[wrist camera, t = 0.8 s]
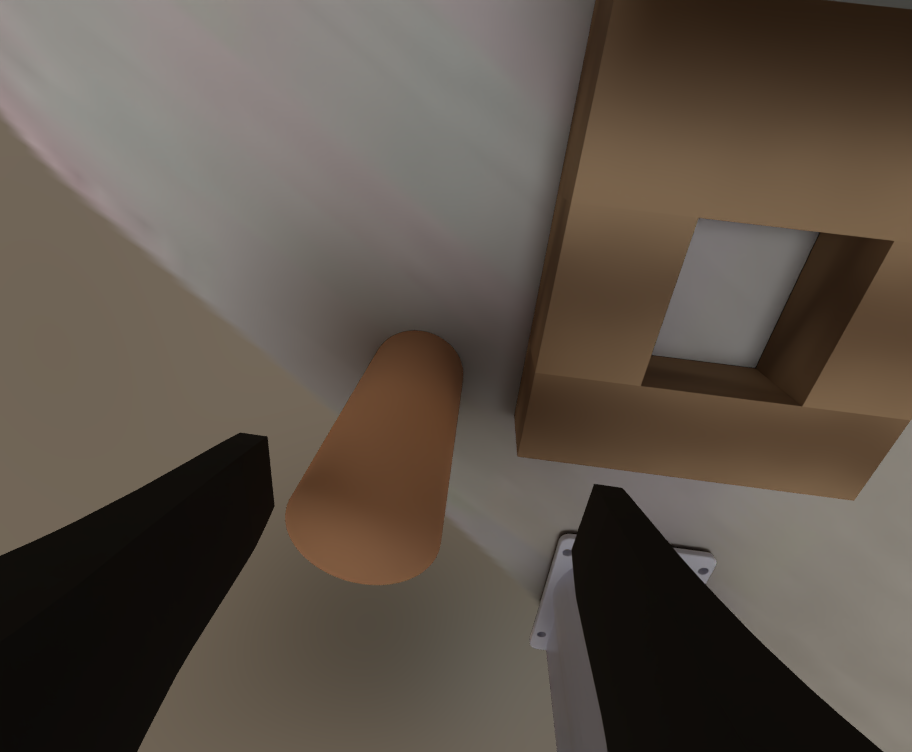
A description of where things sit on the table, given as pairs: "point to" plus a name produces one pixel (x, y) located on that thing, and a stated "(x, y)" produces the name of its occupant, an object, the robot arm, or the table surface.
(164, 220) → the table surface
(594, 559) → the robot arm
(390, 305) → the table surface
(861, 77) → the socket block
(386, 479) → the peg
